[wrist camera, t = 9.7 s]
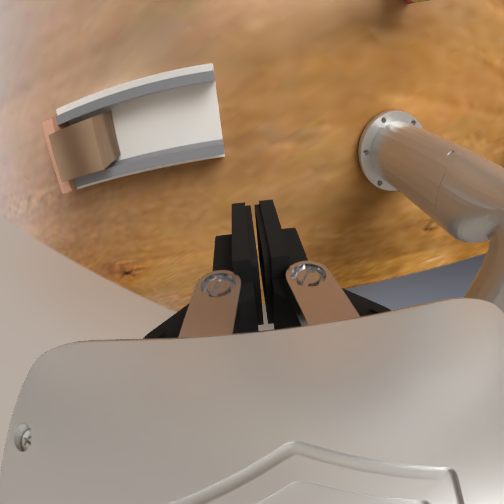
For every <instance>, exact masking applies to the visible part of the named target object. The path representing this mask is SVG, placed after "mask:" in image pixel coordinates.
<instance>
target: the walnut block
mask: <svg viewBox="0 0 504 504" xmlns="http://www.w3.org/2000/svg"><path fill="white" fill-rule="evenodd" d="M49 139H50V143H51V147H52V151H53V154H54V158H55V161H56V165H57V168H58V171H59V175H60V178H61V181H62V183H63V182H66V181H68V180H71V179H75V178H78V177H81V176H84V175H87V174H90V173H94V172H97V171H101V170H104V169H105V168H106V167H107V166H109V165H110V164H111V163H112V162H113V161H114V160H115V159H116V158H118V157H119V156H120V155H121V153H120V149H119V145H118V141H117V136H116V132H115V127H114V123H113V118H112V113H111V111H109V112H106V113H103V114H100V115H97V116H94V117H91V118H89V119H86V120H83V121H81V122H78V123H75V124H73V125H70V126H68V127H66V128H63V129H61V130H59V131H56V132H54V133H52V134H50V135H49Z"/></svg>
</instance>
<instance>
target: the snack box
mask: <svg viewBox="0 0 504 504" xmlns="http://www.w3.org/2000/svg"><path fill="white" fill-rule="evenodd" d="M405 1H406V2H407V3H409V4H410V3H415V2H421V1H428V0H405Z"/></svg>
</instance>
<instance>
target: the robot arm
mask: <svg viewBox="0 0 504 504" xmlns="http://www.w3.org/2000/svg"><path fill="white" fill-rule="evenodd" d="M381 118H382V120H381ZM358 157H359V163H360V167H361V169H362V171H363V173H364V175H365V176H366V178H367V179H368V180H369V181H370V182H371V183H372V184H373V185H375V186H376V187H378V188H380V189H382V190H387V191H396V190H398V191H399V192H401V193H402V194H403V195H404V196H406V197H407V198H408V199H409V200H411V201H412V202H413V203H414V204H415V205H417V206H418V207H419V208H420V209H421V210H423V211H424V212H425V213H426V214H427V215H428V216H430V217H431V218H432V219H433V220H434V221H435V222H436V223H438V224H439V225H440V226H441V227H442V228H443V229H444V230H445V231H447V232H448V233H449V234H450V235H451V236H453V237H454V238H456V239H458V240H460V241H463V242H470V243H474V242H483V241H488V240H490V246H489V249H488V252H487V254H486V256H485V258H484V262H483V264H482V266H481V268H480V270H479V271H478V273H477V275H476V277H475V279H474V281H473V282H472V284H471V286H470V288H469V289H468V291H467V293H466V295H465V297H464V298H453V299H444V300H439V301H435V302H430V303H425V304H420V305H415V306H411V307H406V308H402V309H397V310H392V311H391V310H389V309H388V308H386V307H384V306H382V305H380V304H377V303H375V302H373V301H370V300H368V299H366V298H363V297H361V296H359V295H356V294H354V293H352V292H350V291H347V290H345V289H343V288H341V287H340V285H339V284H338V282H337V281H336V279H335V278H334V276H333V275H332V273H331V272H330V270H329V269H328V268H327V267H326V266H324V265H323V264H321V263H318V262H315V261H308V260H307V257H306V254H305V252H304V249H303V246H302V244H301V241H300V238H299V236H298V233H297V231H296V229H295V228H287V229H281V225H280V222H279V219H278V216H277V212H276V209H275V206H274V203H273V200H264V201H259V205H255V217H256V228H257V239H258V250H259V261H260V269H261V276H262V283H263V290H264V297H265V304H266V312H267V319H268V324H271V323H274V329H275V330H266V331H258V325H262V324H264V323H263V312H262V300H261V289H260V278H259V267H258V258H257V250H256V243H255V235H254V228H253V221H252V214H251V206H250V205H249V206H245V203H236V204H232V234H230V235H221V236H216V238H215V249H214V261H213V272H209V273H207V274H205V275H204V276H202V277H201V278H200V279H199V280H198V282H197V284H196V286H195V289H194V292H193V295H192V298H191V301H190V303H189V304H188V305H187V306H185V307H184V308H182V309H181V310H180V311H178V312H177V313H176V314H174V315H173V316H172V317H170V318H169V319H168V320H166V321H165V322H163V323H162V324H161V325H159V326H158V327H157V328H155V329H154V330H153V331H151V332H150V333H148V334H147V335H146V336H145V337H144V338H143V339H116V340H89V341H79V342H74V343H69V344H65V345H62V346H59V347H56V348H53V349H51V350H49V351H47V352H45V353H44V354H42V355H41V356H40V357H39V358H38V359H37V360H36V361H35V363H34V364H33V366H32V367H31V369H30V371H29V373H28V375H27V377H26V379H25V381H24V383H23V385H22V388H21V391H20V393H19V396H18V399H17V402H16V405H15V408H14V411H13V414H12V418H11V421H10V425H9V430H8V434H7V438H6V443H5V448H4V454H3V460H2V466H1V476H0V504H504V168H503V167H501V166H499V165H497V164H495V163H494V162H492V161H490V160H488V159H486V158H484V157H482V156H480V155H478V154H477V153H475V152H473V151H471V150H469V149H467V148H465V147H463V146H460V145H458V144H456V143H454V142H452V141H450V140H447V139H445V138H443V137H441V136H438V135H436V134H433V133H431V132H429V131H426V130H424V129H423V127H422V125H421V124H420V123H419V121H418V120H417V119H416V118H414V117H413V116H412V115H410V114H408V113H406V112H403V111H399V110H388V111H384V112H382V113H380V114H378V115H377V116H375V117H374V118H373V119H372V120H371V121H370V122H369V123H368V124H367V126H366V127H365V129H364V130H363V133H362V135H361V138H360V142H359V148H358Z"/></svg>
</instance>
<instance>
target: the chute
mask: <svg viewBox="0 0 504 504" xmlns="http://www.w3.org/2000/svg"><path fill="white" fill-rule="evenodd" d="M56 111H57V116H55V117H53V118H50V119H48V120H46V121H44V122H42V125H43V129H44V133H45V137H46V141H47V145H48V149H49V152H50V156H51V160H52V163H53V166H54V170H55V173H56V176H57V179H58V182H59V185H60V188H61V191H62V194H64V193H67V192H70V191H72V190H73V189H74V188H76V187H77V189H80V188H84V187H87V186H90V185H94V184H97V183H101V182H105V181H108V180H112V179H116V178H120V177H124V176H128V175H132V174H136V173H140V172H145V171H149V170H154V169H159V168H163V167H168V166H173V165H178V164H184V163H189V162H195V161H200V160H206V159H212V158H219V157H225V152H224V145H223V137H222V130H221V123H220V115H219V108H218V100H217V93H216V85H215V77H214V69H213V63H211V64H204V65H198V66H192V67H187V68H182V69H177V70H172V71H168V72H163V73H159V74H155V75H151V76H147V77H144V78H140V79H136V80H133V81H130V82H126V83H123V84H120V85H117V86H114V87H111V88H108V89H105V90H102V91H99V92H97V93H94V94H91V95H89V96H86V97H84V98H81V99H79V100H76V101H74V102H72V103H69V104H67V105H65V106H62V107H60V108H58V109H56ZM109 111H111V113H112V118H113V123H114V127H115V132H116V136H117V141H118V145H119V149H120V153H121V155H120V156H119V157H118V158H116V159H115V160H114V161H113V162H112V163H111V164H110V165H109V166H107V167H106V168H105V169H104V170H101V171H97V172H94V173H90V174H87V175H84V176H81V177H78V178H75V179H71V180H68V181H66V182H63V183H62V181H61V178H60V175H59V171H58V168H57V165H56V161H55V158H54V154H53V151H52V147H51V143H50V139H49V135H50V134H52V133H54V132H56V131H59V130H61V129H63V128H66V127H68V126H70V125H73V124H75V123H78V122H81V121H83V120H86V119H89V118H91V117H94V116H97V115H100V114H103V113H106V112H109Z"/></svg>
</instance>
